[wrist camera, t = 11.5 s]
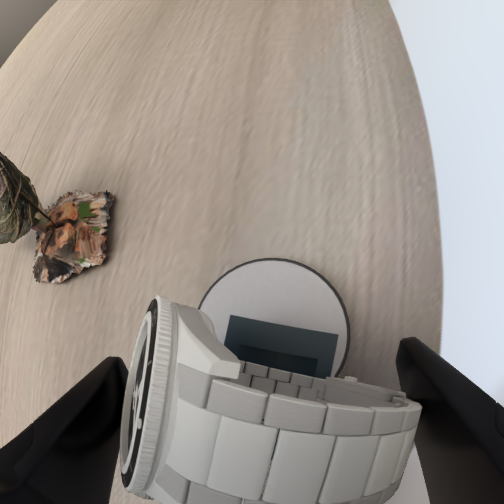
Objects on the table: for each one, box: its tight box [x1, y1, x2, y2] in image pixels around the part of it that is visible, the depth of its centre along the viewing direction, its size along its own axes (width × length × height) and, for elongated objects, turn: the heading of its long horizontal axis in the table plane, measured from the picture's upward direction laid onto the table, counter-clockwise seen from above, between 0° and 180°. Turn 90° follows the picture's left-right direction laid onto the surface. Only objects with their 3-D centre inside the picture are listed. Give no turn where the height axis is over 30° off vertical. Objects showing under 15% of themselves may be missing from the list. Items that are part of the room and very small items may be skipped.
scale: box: [198, 258, 350, 378], centre depth 18 cm, size 9×9×3 cm
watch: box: [120, 295, 422, 504], centre depth 9 cm, size 6×8×11 cm
